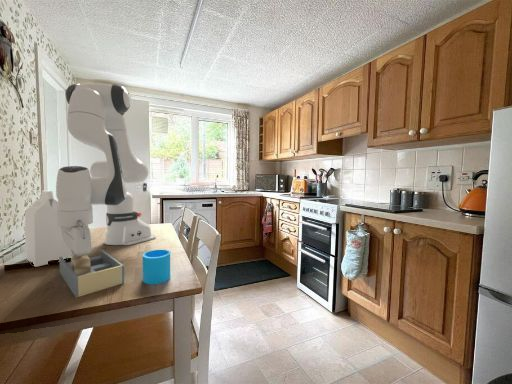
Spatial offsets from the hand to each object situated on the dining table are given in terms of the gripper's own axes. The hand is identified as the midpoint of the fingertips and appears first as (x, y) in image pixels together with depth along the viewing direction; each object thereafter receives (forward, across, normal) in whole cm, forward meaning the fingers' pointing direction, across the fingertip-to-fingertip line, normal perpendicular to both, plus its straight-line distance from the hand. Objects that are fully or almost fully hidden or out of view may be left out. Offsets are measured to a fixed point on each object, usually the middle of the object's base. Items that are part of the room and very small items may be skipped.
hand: (77, 261), depth 75 cm
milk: (+5, +27, +3) cm, 28 cm away
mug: (+5, -16, -18) cm, 25 cm away
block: (+2, -4, 0) cm, 4 cm away
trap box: (+5, -3, -3) cm, 7 cm away
